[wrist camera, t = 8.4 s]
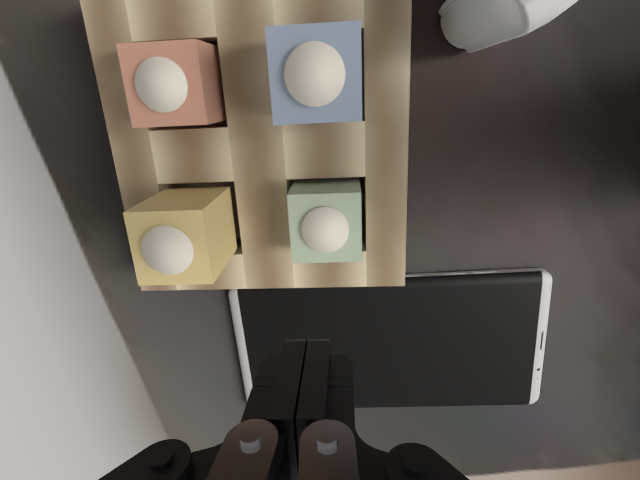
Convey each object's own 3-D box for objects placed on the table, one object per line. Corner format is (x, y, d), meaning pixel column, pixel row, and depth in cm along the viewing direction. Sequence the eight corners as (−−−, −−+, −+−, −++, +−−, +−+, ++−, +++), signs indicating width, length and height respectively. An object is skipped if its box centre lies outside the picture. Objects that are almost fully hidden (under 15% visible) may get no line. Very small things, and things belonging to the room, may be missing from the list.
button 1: (225, 49, 29) (194, 38, 23) (232, 118, 30) (205, 125, 24) (160, 52, 29) (113, 43, 23) (171, 121, 30) (129, 128, 24)
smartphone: (230, 278, 37) (225, 287, 35) (546, 263, 35) (555, 272, 33) (251, 399, 41) (247, 412, 40) (532, 393, 39) (540, 407, 37)
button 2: (229, 186, 29) (200, 211, 23) (237, 248, 30) (211, 286, 24) (165, 188, 29) (119, 213, 23) (176, 249, 31) (136, 287, 25)
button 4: (358, 174, 31) (361, 193, 25) (359, 232, 33) (362, 263, 27) (297, 176, 31) (286, 196, 25) (300, 233, 33) (291, 265, 27)
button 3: (357, 36, 25) (361, 19, 19) (358, 114, 27) (362, 121, 21) (282, 40, 25) (263, 25, 20) (287, 118, 27) (271, 125, 21)
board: (402, -12, 28) (412, -30, 24) (397, 262, 35) (404, 285, 30) (116, 7, 29) (78, -7, 25) (165, 267, 36) (141, 290, 32)
